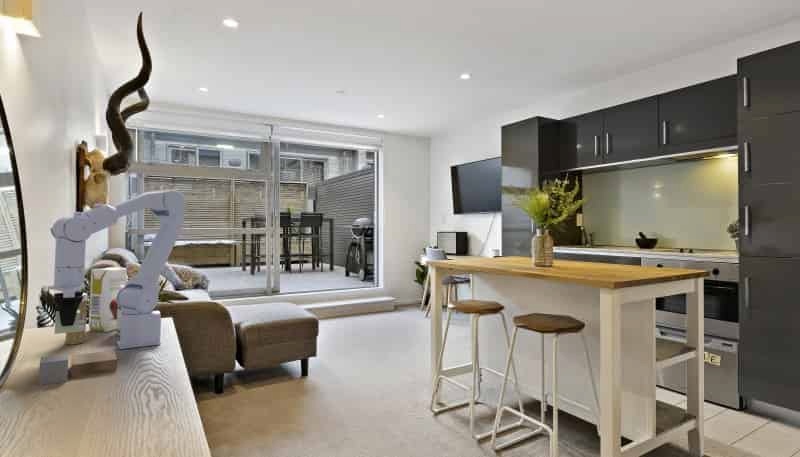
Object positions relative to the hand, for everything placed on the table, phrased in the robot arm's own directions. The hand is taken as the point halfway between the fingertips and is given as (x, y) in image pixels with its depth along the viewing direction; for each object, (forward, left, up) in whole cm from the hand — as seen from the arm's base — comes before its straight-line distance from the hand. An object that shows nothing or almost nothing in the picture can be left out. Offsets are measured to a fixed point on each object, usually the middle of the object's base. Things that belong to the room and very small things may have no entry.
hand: (67, 323), depth 101 cm
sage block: (0, 0, -2) cm, 2 cm away
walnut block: (-5, +11, -9) cm, 15 cm away
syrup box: (-15, -21, -9) cm, 27 cm away
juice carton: (-10, -31, -9) cm, 34 cm away
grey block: (+2, +15, -9) cm, 17 cm away
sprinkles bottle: (-2, -17, -9) cm, 19 cm away
